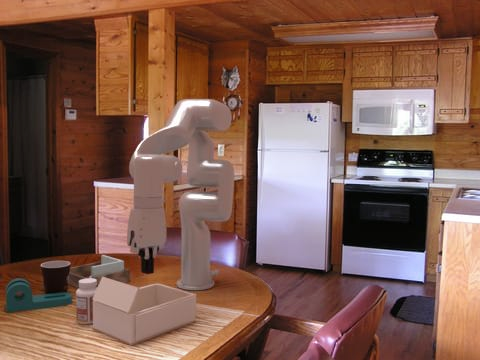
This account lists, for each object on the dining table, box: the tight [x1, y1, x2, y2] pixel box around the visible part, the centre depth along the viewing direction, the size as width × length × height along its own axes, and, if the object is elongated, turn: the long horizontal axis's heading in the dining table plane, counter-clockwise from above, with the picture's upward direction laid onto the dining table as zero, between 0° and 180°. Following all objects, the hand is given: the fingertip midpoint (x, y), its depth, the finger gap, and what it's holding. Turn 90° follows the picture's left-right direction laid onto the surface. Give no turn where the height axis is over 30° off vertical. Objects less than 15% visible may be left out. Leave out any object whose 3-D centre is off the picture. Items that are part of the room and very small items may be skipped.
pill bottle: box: [75, 277, 97, 325], centre depth 142 cm, size 6×6×11 cm
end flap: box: [92, 277, 140, 313], centre depth 131 cm, size 1×14×6 cm, turn 50°
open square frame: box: [68, 261, 131, 289], centre depth 179 cm, size 17×17×4 cm
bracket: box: [5, 277, 73, 314], centre depth 154 cm, size 18×7×8 cm, turn 115°
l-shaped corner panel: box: [88, 254, 125, 278], centre depth 178 cm, size 12×12×8 cm
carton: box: [92, 283, 197, 346], centre depth 139 cm, size 22×17×8 cm
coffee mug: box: [40, 260, 71, 294], centre depth 164 cm, size 12×9×10 cm
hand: (147, 272), depth 138 cm, fingers closed
